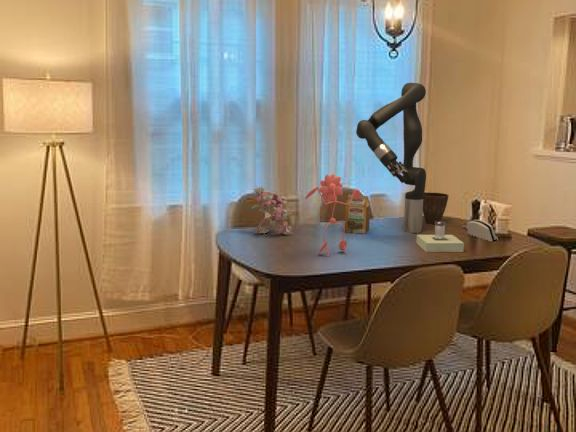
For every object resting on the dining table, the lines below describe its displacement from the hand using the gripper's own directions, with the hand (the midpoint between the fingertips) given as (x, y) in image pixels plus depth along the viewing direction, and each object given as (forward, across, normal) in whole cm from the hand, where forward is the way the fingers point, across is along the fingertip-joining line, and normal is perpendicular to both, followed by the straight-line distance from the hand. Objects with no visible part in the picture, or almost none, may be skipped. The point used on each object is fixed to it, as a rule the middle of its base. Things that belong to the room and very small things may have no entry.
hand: (407, 180), depth 277 cm
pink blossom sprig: (+6, -38, +36) cm, 52 cm away
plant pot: (+19, +53, +24) cm, 61 cm away
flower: (-21, -21, +63) cm, 70 cm away
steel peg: (+33, -1, +9) cm, 34 cm away
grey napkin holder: (+41, +31, +1) cm, 51 cm away
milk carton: (+1, +8, +41) cm, 42 cm away
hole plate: (+33, -1, +9) cm, 34 cm away
